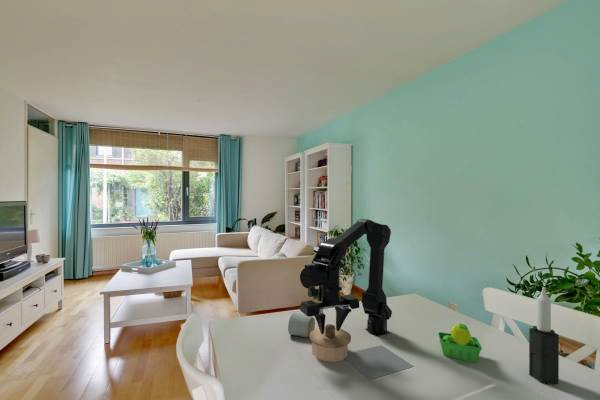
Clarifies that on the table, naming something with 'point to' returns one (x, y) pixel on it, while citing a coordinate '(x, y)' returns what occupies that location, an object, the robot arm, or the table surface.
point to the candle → (544, 344)
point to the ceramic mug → (300, 324)
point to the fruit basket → (460, 344)
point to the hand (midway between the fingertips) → (329, 332)
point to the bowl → (329, 353)
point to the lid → (330, 337)
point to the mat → (376, 362)
